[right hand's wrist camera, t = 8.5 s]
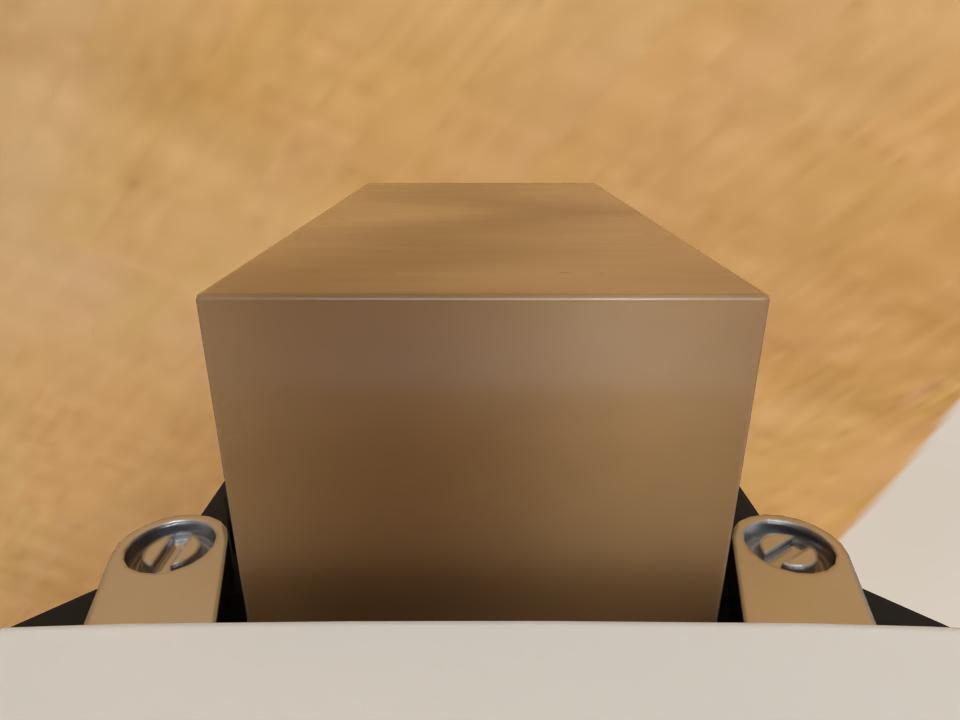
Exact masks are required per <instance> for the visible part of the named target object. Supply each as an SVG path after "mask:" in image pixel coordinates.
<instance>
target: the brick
mask: <svg viewBox="0 0 960 720" xmlns="http://www.w3.org/2000/svg"><path fill="white" fill-rule="evenodd" d="M196 303H197V309H198V315H199V322H200V328H201V334H202V340H203V347H204V353H205V359H206V365H207V372H208V378H209V384H210V390H211V397H212V403H213V409H214V416H215V422H216V428H217V434H218V441H219V447H220V453H221V459H222V466H223V472H224V478H225V485H226V491H227V497H228V503H229V510H230V516H231V522H232V528H233V535H234V541H235V547H236V554H237V560H238V566H239V572H240V579H241V585H242V591H243V597H244V604H245V610H246V616H247V622H330V621H606V622H717V620H718V614H719V608H720V602H721V595H722V589H723V583H724V577H725V571H726V565H727V559H728V552H729V546H730V540H731V534H732V528H733V522H734V515H735V509H736V503H737V497H738V491H739V485H740V479H741V472H742V466H743V460H744V454H745V448H746V442H747V436H748V429H749V423H750V417H751V411H752V405H753V399H754V393H755V386H756V380H757V374H758V368H759V362H760V356H761V349H762V343H763V337H764V331H765V325H766V319H767V313H768V306H769V296H768V295H767V294H766V293H764V292H762V291H761V290H759V289H758V288H756V287H755V286H753V285H752V284H750V283H748V282H747V281H745V280H744V279H742V278H741V277H739V276H738V275H736V274H734V273H733V272H731V271H730V270H728V269H727V268H725V267H724V266H722V265H720V264H719V263H717V262H716V261H714V260H713V259H711V258H710V257H708V256H706V255H705V254H703V253H702V252H700V251H699V250H697V249H696V248H694V247H693V246H691V245H689V244H688V243H686V242H685V241H683V240H682V239H680V238H679V237H677V236H675V235H674V234H672V233H671V232H669V231H668V230H666V229H665V228H663V227H661V226H660V225H658V224H657V223H655V222H654V221H652V220H651V219H649V218H647V217H646V216H644V215H643V214H641V213H640V212H638V211H637V210H635V209H633V208H632V207H630V206H629V205H627V204H626V203H624V202H623V201H621V200H619V199H618V198H616V197H615V196H613V195H612V194H610V193H609V192H607V191H606V190H604V189H602V188H601V187H599V186H598V185H596V184H594V183H369V184H367V185H365V186H364V187H362V188H361V189H359V190H358V191H356V192H355V193H353V194H351V195H350V196H348V197H347V198H345V199H344V200H342V201H341V202H339V203H338V204H336V205H335V206H333V207H332V208H330V209H329V210H327V211H325V212H324V213H322V214H321V215H319V216H318V217H316V218H315V219H313V220H312V221H310V222H309V223H307V224H306V225H304V226H302V227H301V228H299V229H298V230H296V231H295V232H293V233H292V234H290V235H289V236H287V237H286V238H284V239H283V240H281V241H279V242H278V243H276V244H275V245H273V246H272V247H270V248H269V249H267V250H266V251H264V252H263V253H261V254H260V255H258V256H256V257H255V258H253V259H252V260H250V261H249V262H247V263H246V264H244V265H243V266H241V267H240V268H238V269H237V270H235V271H233V272H232V273H230V274H229V275H227V276H226V277H224V278H223V279H221V280H220V281H218V282H217V283H215V284H214V285H212V286H211V287H209V288H207V289H206V290H204V291H203V292H201V293H200V294H198V295H197V298H196Z"/></svg>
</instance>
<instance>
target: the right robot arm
mask: <svg viewBox="0 0 960 720" xmlns="http://www.w3.org/2000/svg"><path fill="white" fill-rule="evenodd" d="M0 720H960V628H950V627H948V626H946V625H943V624H941V623H939V622H937V621H934V620H932V619H930V618H928V617H925V616H923V615H921V614H919V613H916V612H914V611H912V610H910V609H907V608H905V607H903V606H901V605H898V604H896V603H894V602H892V601H889V600H887V599H885V598H882V597H880V596H878V595H876V594H873V593H871V592H869V591H867V590H864V589H862V587H861V585H860V582H859V580H858V577H857V575H856V572H855V570H854V567H853V565H852V562H851V560H850V557H849V555H848V553H847V552H846V550H845V549H844V547H843V545H842V544H841V543H840V542H839V541H837V540H836V539H835V538H834V537H833V536H832V535H830V534H829V533H827V532H825V531H824V530H822V529H820V528H818V527H817V526H815V525H812V524H809V523H807V522H804V521H801V520H799V519H794V518H790V517H785V516H780V515H759V514H758V512H757V511H756V510H755V508H754V507H753V505H752V504H751V502H750V501H749V499H748V498H747V496H746V495H745V494H744V492H743V491H742V489H741V488H740V486H739V491H738V497H737V503H736V509H735V515H734V522H733V528H732V534H731V540H730V546H729V552H728V559H727V565H726V571H725V577H724V583H723V589H722V595H721V602H720V608H719V614H718V620H717V622H606V621H330V622H247V616H246V610H245V604H244V597H243V591H242V585H241V579H240V572H239V566H238V560H237V554H236V547H235V541H234V535H233V528H232V522H231V516H230V510H229V503H228V497H227V491H226V485H225V481H224V483H223V484H222V486H221V487H220V489H219V490H218V492H217V493H216V494H215V496H214V497H213V499H212V500H211V502H210V503H209V505H208V506H207V507H206V509H205V510H204V512H203V513H202V515H180V516H175V517H170V518H166V519H161V520H159V521H156V522H153V523H151V524H148V525H145V526H143V527H142V528H140V529H138V530H136V531H135V532H133V533H131V534H130V535H128V536H127V537H126V538H125V539H124V540H123V541H121V542H120V543H119V544H118V545H117V547H116V548H115V550H114V552H113V553H112V555H111V557H110V560H109V562H108V565H107V567H106V570H105V572H104V575H103V577H102V580H101V582H100V585H99V587H98V589H96V590H94V591H92V592H89V593H87V594H85V595H83V596H80V597H78V598H76V599H73V600H71V601H69V602H67V603H64V604H62V605H60V606H58V607H55V608H53V609H51V610H49V611H46V612H44V613H42V614H40V615H37V616H35V617H33V618H30V619H28V620H26V621H24V622H21V623H19V624H17V625H15V626H12V627H10V628H0Z"/></svg>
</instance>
